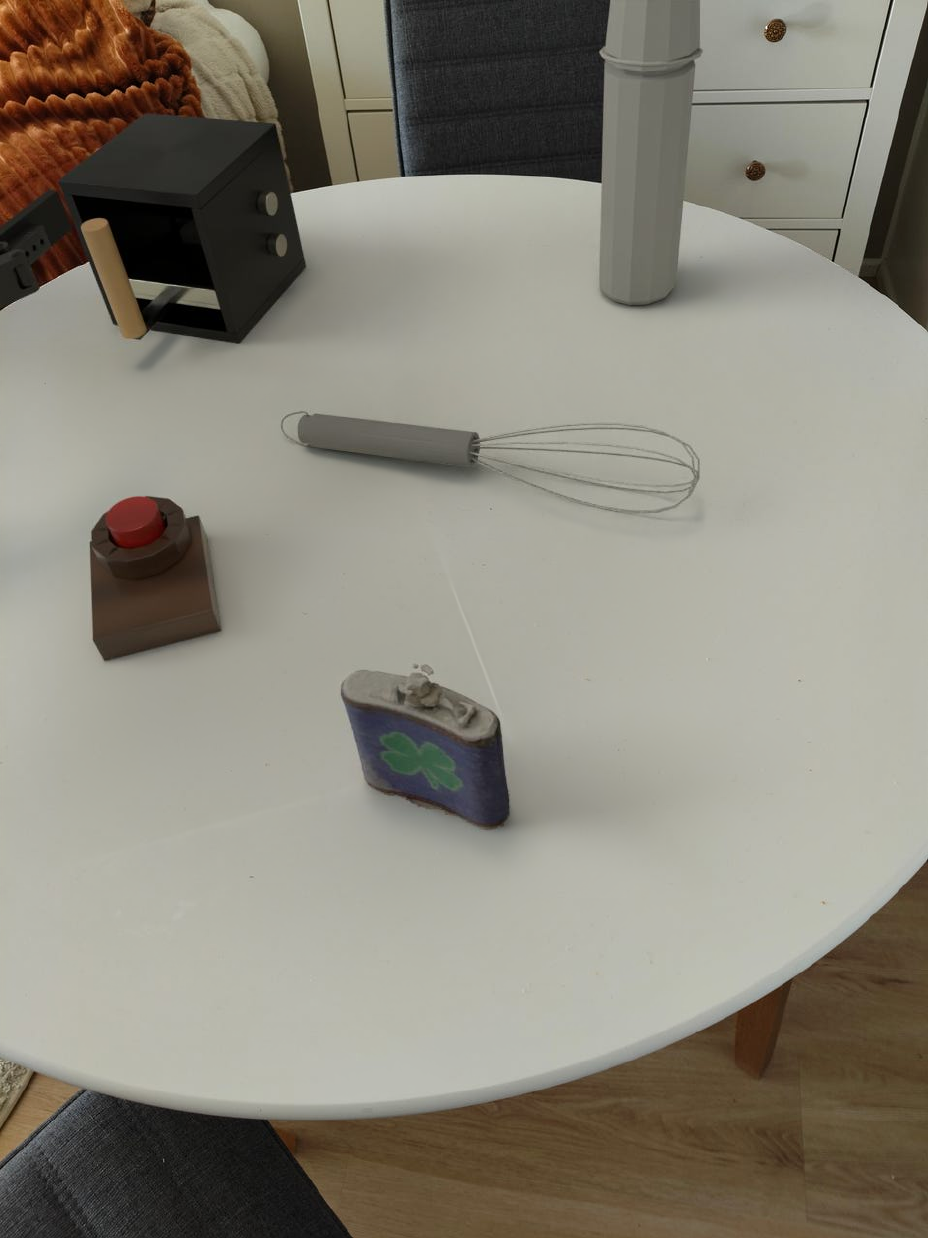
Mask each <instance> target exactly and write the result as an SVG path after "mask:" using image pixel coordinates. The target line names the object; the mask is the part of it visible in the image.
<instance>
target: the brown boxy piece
mask: <svg viewBox="0 0 928 1238" xmlns="http://www.w3.org/2000/svg"><path fill="white" fill-rule="evenodd" d="M144 497H147V498H150V499H152V500H153V501H154V502H155V503H156V504H157V506H158V509H159V511H160V514H161V516H162V518H163V521H164V523H165V529H164V532H163V534H162V536H161V537H160V538H158V539H157V540H155V541H153V542H152V543H150V544H149V545H146V546H142V547H138V548H134V549H127V548H122V547H120V546H119V545H117V544H116V542H115V541H114V539H113V536H112V534H111V532H110V530H109V528H108V526H107V524H106V515H107V513H108V511H106V512H105V513H103V514H102V515H101V517H100V518H99V519H98V521H97V522H96V523H95V525H94V527H93V528H92V529H91V531H90V535H91V538H90V539H91V540H90V541H89V565H90V566H89V567H90V595H91V599H90V600H91V624H92V627H91V629H92V642H93V644H94V645H95V647H96V649H97V651H98V652H99V655H100V656H101V658H102V659H103V661H104V662H106V661H109V660H110V661H111V660H113V659H117V658H121V657H125V656H130V655H133V654H137V653H141V652H146V651H149V650H153V649H157V648H161V647H164V646H167V645H172V644H176V643H180V642H185V641H189V640H192V639H195V638H200V637H204V636H208V635H211V634H215V633H219V632H221V631H222V629H221V627H222V626H221V621H220V616H219V608H218V602H217V594H216V587H215V582H214V575H213V568H212V563H211V556H210V555H211V554H210V548H209V542H208V536H207V533H206V531H205V528H204V525H203V522H202V520H201V517H200V515H198V514H197V515H193V516H189V517H187V515H186V514H185V511H184V509H183V508H182V507H181V506H179V505H178V504H177V503H176V502H175V501H173V500H171V499H170V498H167V497H159V496H151V495H145V496H144Z"/></svg>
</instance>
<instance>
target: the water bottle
mask: <svg viewBox="0 0 928 1238" xmlns="http://www.w3.org/2000/svg"><path fill="white" fill-rule="evenodd" d="M608 10H609V11H608V21H607V26H606V27H607V28H606V29H607V30H606V37H605V45H604V46H603V47H602V48H601V49H600V50H599V53H598V54H599V55H600V56H601V58H602V59H604V73H603V107H602V108H603V109H602V110H603V111H602V113H603V114H602V152H601V187H600V188H601V189H600V190H601V191H600V229H599V230H600V233H599V264H598V265H599V267H598V268H599V269H598V277H599V278H598V280H599V289H600V291H601V292H602V293H603V294H604V295H605V296H607V298H609V300H611V301H612V302H615V303H616V302H617V303H621V304H624V305H627V306H637V305H638V306H639V305H641V306H642V305H643V306H644V305H650V304H652V303H655V302H658V301H661V300H663V299H664V298H666V297H667V296H668V295H669V294H670V293H671V291H672V290H674V288H675V287H676V286H677V278H678V267H679V266H678V265H679V254H680V242H681V233H682V232H681V231H682V220H683V209H684V197H685V187H686V177H687V176H686V175H687V165H688V154H689V153H688V152H689V144H690V143H689V141H690V131H691V122H692V121H691V120H692V111H693V110H692V108H693V97H694V88H695V87H694V86H695V75H696V62H695V60H696V59H699V58H701V56H702V54H703V52H704V50H703V49H702V48H701V0H610V2H609V9H608Z"/></svg>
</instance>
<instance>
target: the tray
mask: <svg viewBox="0 0 928 1238" xmlns="http://www.w3.org/2000/svg"><path fill="white" fill-rule="evenodd" d="M175 219H176V222H177V226H178V229H179V231H178V232H177V233H176V234H175V235H174V236H172V237H171V238H170V239H169V240H168V241H167V242H166V243H165V244H164V245H163V246H162V247H161V248H160V249H159V250H157V251H156V252H155V253H154V254H153V255H152V256H151V257H150V258H149V259H148V260H147V261H146V262H145V263H144V264H143V265H141V266H140V267H139V268H138V269H137V270H136V271H135V272H134V273H133V274H132V275H131V276H127V273H126V270H125V268H124V265H123V262H122V259H121V257H120V254H119V251H118V248H117V246H116V243H115V240H114V237H113V235H112V232H111V229H110V226H109V223H108V221H107V220H106V219H103V218H96V219H91V220H88V221H86V222H84V223H83V224H82V225H81V230H82V233H83V235H84V238H85V240H86V243H87V246H88V248H89V251H90V253H91V256H92V259H93V261H94V264H95V266H96V269H97V272H98V274H99V277H100V279H101V282H102V285H103V287H104V290H105V292H106V295H107V298H108V300H109V303H110V305H111V308H112V310H113V313H114V316H115V318H116V321H117V323H118V325H117V326H118V329H119V331H120V334H121V336H122V337H123V338H124V339H127V340H137V341H141V340H143V338H144V337H145V336H146V335H147V334H148V333H149V332H150V331H152V330H151V329H152V328H153V327H154V326H155V325H156V324H157V323H158V322H159V321H160V320H161V318H162V317H163V316H164V315H165V314H166V313H167V312H168V311H169V310H170V309H171V308H172V307H173V306H174V305H175V303H178V304H185V305H192V306H199V307H206V308H213V309H221V308H220V305H219V302H218V298H217V295H216V291H215V288H214V285H213V281H212V278H211V274H210V271H209V268H208V264H207V261H206V257H205V254H204V251H203V247H202V244H201V240H200V237H199V234H198V230H197V227H196V223H195V220H194V217H189V216H180V215H178V216H177V217H176V218H175ZM136 298H142V299H149V300H153V301H152V302H151V303H150V304H149V305H148V306H147V307H146V308H145V309H144V310H143V311H142V312H140V309H139V306H138V303H137V301H136Z"/></svg>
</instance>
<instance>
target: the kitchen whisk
mask: <svg viewBox="0 0 928 1238" xmlns="http://www.w3.org/2000/svg"><path fill="white" fill-rule="evenodd" d="M298 414H303V415H302V416H301V417H300V419H299V421H298V423H297V437H298V440H299V441H297V440H295V439H294V438H291V437H290V436H289V435H288V434H287V433H286V432H285V430H284V421H285V420H286V419H287V418H288V417H290V416H294V415H298ZM579 426H594V427H579ZM595 426H596V427H595ZM608 426H611V427H608ZM612 426H613V427H612ZM615 426H616V427H615ZM617 426H619V427H617ZM620 426H623V427H620ZM565 427H572V428H565ZM280 428H281V431H282V433H283V435H284V436H285V437H286V438H287V439H289V440H290V441H291V442H293V443H295V444H298V445H300V446H303V447H306V448H307V447H312V448H317V449H326V450H334V451H341V452H349V453H356V454H364V455H372V456H379V457H387V458H394V459H401V460H411V461H417V462H425V463H433V464H439V465H449V466H455V467H456V466H457V467H463V468H464V467H465V468H475V466H476V464H477V463H478V464H480V465H482V466H485V467H486V468H489V469H490V470H493V471H495V472H497V473H500V474H501V475H504V476H506V477H508V478H511V479H513V480H516V481H518V482H520V483H522V484H524V485H528V486H530V487H533V488H535V489H538V490H541V491H543V492H546V493H548V494H551V495H554V496H558V497H561V498H564V499H567V500H570V501H573V502H577V503H579V504H584V505H588V506H593V507H596V508H599V509H604V510H608V511H616V512H621V513H628V514H660V513H663V512H666V511H669V510H673V509H677V508H678V507H679V506H680V505H681V504H682V503H683V502H685V501H686V500H688V499H689V498H691V497H692V495H693V493H694V491H695V489H696V487H697V485H698V483H699V481H700V478H701V465H700V463H701V462H700V461H701V460H700V457H699V456H698V455H697V454H696V452H695V451H694V449H693V448H692V446H691V444H689V443H687V442H685V441H683V440H681V439H680V438H677V437H676V436H674V435H671V434H669V433H668V432H666V431H663V430H659V429H656V428H653V427H649V426H645V425H641V424H640V425H638V424H629V423H620V422H584V423H572V424H571V423H569V424H558V425H549V426H542V427H535V428H529V429H522V430H516V431H512V432H511V431H510V432H506V433H500V434H496V435H491V436H486V437H481V438H480V435H479V433H478V432H475V431H467V430H460V429H459V430H458V429H451V428H443V427H435V426H427V425H426V426H425V425H417V424H408V423H399V422H391V421H381V420H374V419H365V418H357V417H351V416H350V417H349V416H341V415H340V416H339V415H333V414H324V413H313V414H309V413H308V412H307V411H304V410H300V411H296V412H292V413H291V412H290V413H288V414H287V415H285V416H283V418H282V420H281V422H280ZM556 428H561V429H556ZM545 429H549V430H545ZM538 430H540V431H538ZM583 430H584V431H585V430H626V431H637V432H646V433H652V434H653V433H654V434H657V435H660V436H664V437H668V438H671V439H672V440H674V441H676V442H678V443H679V444H681V445H682V447H683V449H685V451H686V452H687V454H688V455H689V456H690V458H691V461H692V462H691V463H692V466H691V465H690V464H688V463H687V462H685V461H683V460H681V459H680V458H678V457H676V456H672V455H670V454H666V453H663V452H660V451H656V450H652V449H646V448H641V447H637V446H636V447H635V446H628V445H619V444H609V443H597V442H596V443H595V442H581V441H580V442H576V441H575V442H573V441H516V442H513V441H512V442H489V443H485V442H488V441H495V440H500V439H508V438H515V437H522V436H530V435H536V434H544V433H545V434H546V433H556V432H557V433H558V432H569V431H583ZM483 442H484V443H483ZM503 445H504V446H505V445H506V446H507V445H585V446H598V447H599V446H600V447H611V448H619V449H629V450H636V451H641V452H646V453H651V454H657V455H659V456H663V457H667V458H670V459H672V460H668V459H662V458H656V457H650V456H643V455H632V454H623V453H613V452H603V451H602V452H601V451H585V450H575V449H574V450H573V449H572V450H571V449H554V448H534V447H533V448H532V447H531V448H529V447H506V446H505V447H504V446H503ZM502 446H503V447H502ZM688 448H689V449H688ZM482 449H486V450H487V449H488V450H489V449H490V450H517V451H518V450H519V451H520V450H521V451H541V452H543V451H545V452H562V453H564V452H565V453H578V454H579V453H580V454H593V455H607V456H608V455H609V456H617V457H629V458H636V459H644V460H645V459H647V460H653V461H659V462H663V463H664V462H665V463H669V464H675V465H678V466H681V467H685V468H688V469H690V471H691V473H692V474H693V479H692V480H690V481H688V482H683V483H678V484H677V483H676V484H646V483H632V482H625V481H616V480H609V479H601V478H595V477H588V476H584V475H577V474H572V473H567V472H562V471H557V470H552V469H546V468H543V467H537V466H533V465H526V464H524V463H519V462H515V461H509V460H505V459H501V458H498V457H493V456H489V455H486V454H481V453H480V452H481V450H482ZM691 452H692V453H691ZM692 454H693V455H694V456H693V455H692ZM479 457H480V458H483V459H487V460H491V461H495V462H498V463H502V464H505V465H509V466H513V467H518V468H521V469H525V470H529V471H533V472H536V473H540V474H546V475H550V476H553V477H558V478H562V479H566V480H571V481H576V482H581V483H584V484H585V483H586V484H590V485H596V486H601V487H607V488H613V489H618V490H624V491H633V492H639V493H654V494H674V493H675V494H677V493H683V492H685V491H688V492H687V493H688V494H687V495H686V496H685V497H683V499H681V500H680V501H679V502H677V503H676V504H674V505H671V506H667V507H663V508H659V509H653V510H652V509H649V510H648V509H647V510H646V509H645V510H642V509H641V510H640V509H639V510H637V509H636V510H635V509H634V510H631V509H623V508H618V507H617V508H616V507H609V506H604V505H600V504H595V503H592V502H587V501H583V500H579V499H577V498H573V497H570V496H567V495H564V494H561V493H558V492H555V491H552V490H550V489H547V488H545V487H542V486H539V485H537V484H533V483H531V482H528V481H526V480H524V479H521V478H519V477H517V476H515V475H512V474H509V473H508V472H505V471H503V470H500V469H498V468H496V467H494V466H492V465H489V464H487V463H486V462H483V461H481V460H479ZM695 458H696V460H697V469H696V467H695ZM583 479H584V480H583ZM588 480H591V481H588ZM593 481H597V482H593ZM598 482H603V483H598ZM604 483H609V484H604ZM610 483H611V484H618V485H625V486H637V487H649V488H674V487H681V486H686V485H690V486H688V487H686V488H684V489H680V490H667V491H666V490H665V491H664V490H663V491H662V490H647V489H646V490H645V489H637V488H629V487H622V486H615V485H610Z"/></svg>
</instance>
